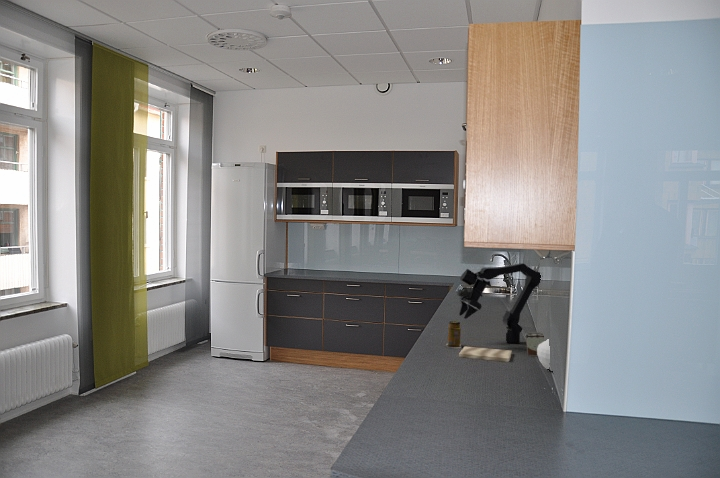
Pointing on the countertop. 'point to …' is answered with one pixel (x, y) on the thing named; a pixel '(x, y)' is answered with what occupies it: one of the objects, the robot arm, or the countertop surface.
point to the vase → (544, 353)
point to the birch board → (485, 354)
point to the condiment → (454, 335)
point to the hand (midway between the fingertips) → (462, 316)
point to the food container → (533, 342)
